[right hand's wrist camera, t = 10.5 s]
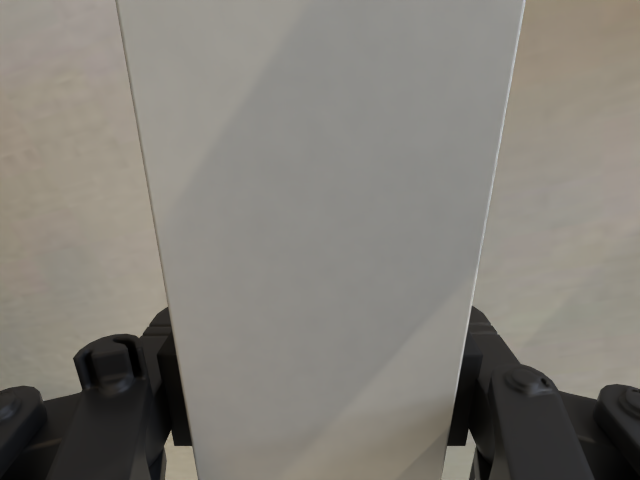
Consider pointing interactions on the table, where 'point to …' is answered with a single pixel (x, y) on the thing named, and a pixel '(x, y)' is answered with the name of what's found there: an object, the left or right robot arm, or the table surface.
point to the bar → (320, 219)
